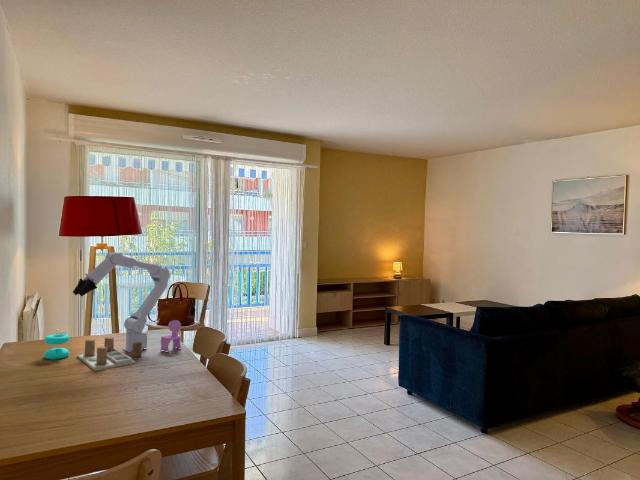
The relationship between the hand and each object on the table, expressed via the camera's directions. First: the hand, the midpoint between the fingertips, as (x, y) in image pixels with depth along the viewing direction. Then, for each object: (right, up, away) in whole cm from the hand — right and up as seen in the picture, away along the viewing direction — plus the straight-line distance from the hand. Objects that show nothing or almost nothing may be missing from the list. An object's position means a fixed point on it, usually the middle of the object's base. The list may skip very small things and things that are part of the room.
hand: (77, 294), depth 196 cm
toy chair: (+35, -32, +23) cm, 52 cm away
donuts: (-12, -30, +5) cm, 33 cm away
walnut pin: (+23, -31, +9) cm, 40 cm away
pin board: (+12, -31, +3) cm, 33 cm away
